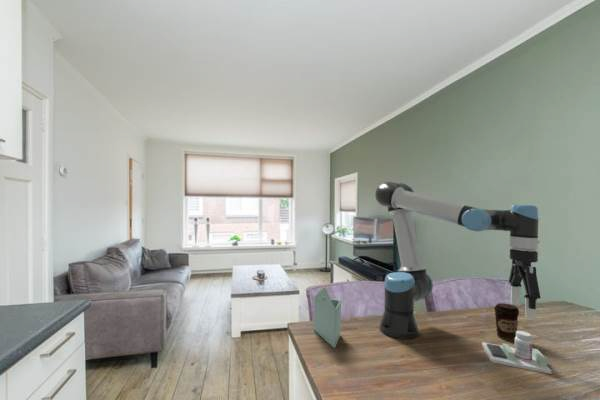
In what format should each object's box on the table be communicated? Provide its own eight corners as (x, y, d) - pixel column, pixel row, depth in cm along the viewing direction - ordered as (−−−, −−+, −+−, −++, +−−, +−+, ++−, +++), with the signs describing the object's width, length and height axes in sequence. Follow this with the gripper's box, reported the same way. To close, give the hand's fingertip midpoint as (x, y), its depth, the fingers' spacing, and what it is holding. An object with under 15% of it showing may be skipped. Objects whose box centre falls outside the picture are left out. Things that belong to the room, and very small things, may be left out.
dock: (491, 362, 92) (491, 351, 92) (481, 344, 104) (481, 335, 104) (551, 374, 86) (551, 362, 86) (534, 354, 98) (534, 344, 98)
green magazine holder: (352, 344, 102) (353, 290, 102) (333, 348, 98) (335, 292, 99) (329, 326, 117) (330, 280, 117) (313, 329, 113) (314, 281, 114)
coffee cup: (525, 344, 106) (525, 310, 106) (500, 341, 107) (501, 308, 108) (512, 334, 114) (512, 303, 115) (490, 332, 116) (490, 301, 116)
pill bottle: (533, 363, 90) (533, 337, 90) (515, 359, 93) (515, 333, 93) (531, 357, 94) (531, 332, 94) (513, 352, 97) (513, 328, 97)
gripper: (554, 255, 82) (554, 327, 81) (523, 246, 105) (522, 301, 104) (524, 253, 84) (523, 322, 84) (499, 244, 108) (498, 298, 107)
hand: (522, 311), depth 94 cm, fingers open, 13 cm apart
